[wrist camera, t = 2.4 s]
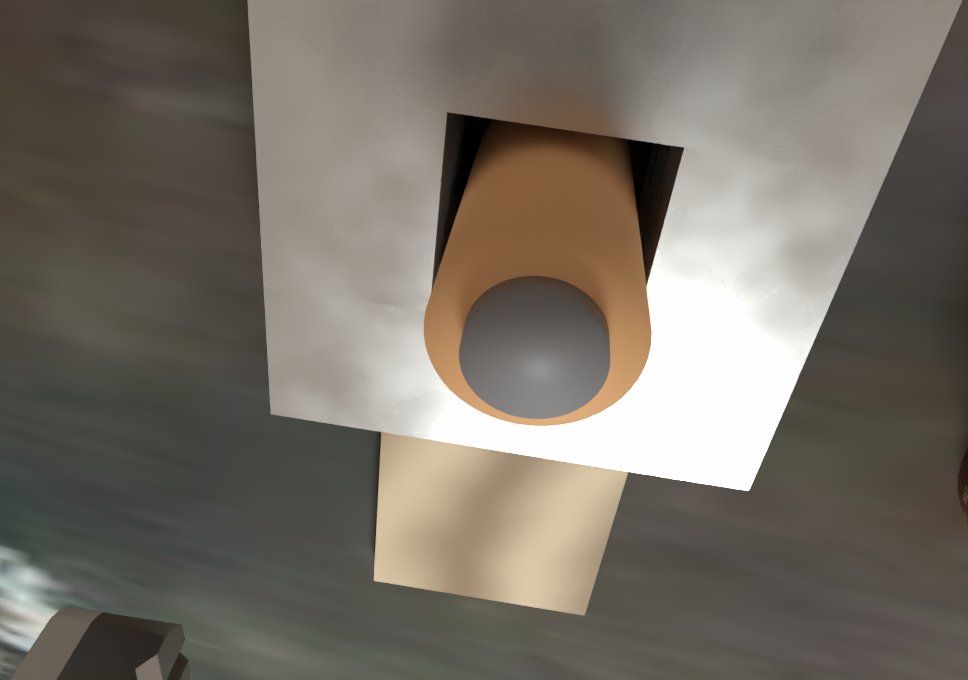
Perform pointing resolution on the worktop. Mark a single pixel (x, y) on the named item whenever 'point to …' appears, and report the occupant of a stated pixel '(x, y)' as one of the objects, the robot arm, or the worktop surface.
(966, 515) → the food container
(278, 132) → the housing
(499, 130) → the tan grey-topped cylinder
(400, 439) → the coaster
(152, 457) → the worktop surface
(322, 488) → the worktop surface
